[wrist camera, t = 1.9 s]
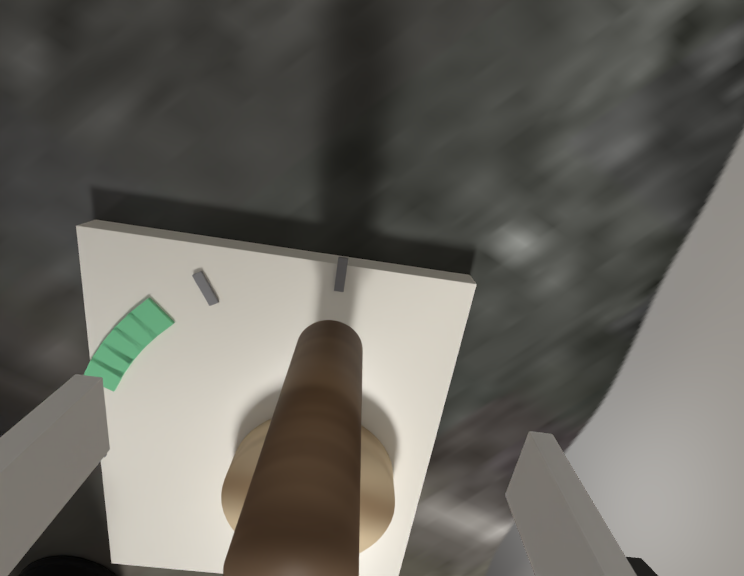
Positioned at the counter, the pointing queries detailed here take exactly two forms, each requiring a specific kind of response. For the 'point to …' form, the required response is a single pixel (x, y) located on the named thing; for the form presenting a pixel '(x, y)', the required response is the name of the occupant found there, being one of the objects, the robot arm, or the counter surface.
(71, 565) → the aerosol can
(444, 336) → the scale board
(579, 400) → the counter surface
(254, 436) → the crank
